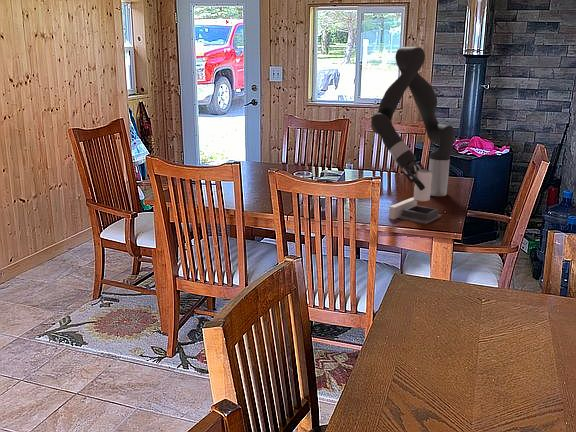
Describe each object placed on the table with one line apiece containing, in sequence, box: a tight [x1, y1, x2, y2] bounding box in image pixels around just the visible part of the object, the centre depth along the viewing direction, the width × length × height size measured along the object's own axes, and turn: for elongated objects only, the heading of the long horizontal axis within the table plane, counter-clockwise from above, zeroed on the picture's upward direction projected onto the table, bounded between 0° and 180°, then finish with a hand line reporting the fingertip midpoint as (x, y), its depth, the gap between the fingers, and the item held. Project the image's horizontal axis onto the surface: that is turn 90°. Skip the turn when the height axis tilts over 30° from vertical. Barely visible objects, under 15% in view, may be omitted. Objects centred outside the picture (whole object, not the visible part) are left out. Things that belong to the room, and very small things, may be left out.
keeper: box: [398, 204, 442, 225], centre depth 235 cm, size 14×12×3 cm
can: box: [413, 168, 432, 202], centre depth 232 cm, size 6×6×12 cm
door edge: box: [388, 196, 418, 220], centre depth 240 cm, size 20×2×5 cm, turn 141°
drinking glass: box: [310, 178, 335, 209], centre depth 244 cm, size 10×10×12 cm
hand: (426, 187), depth 231 cm, fingers closed on can, 5 cm apart
